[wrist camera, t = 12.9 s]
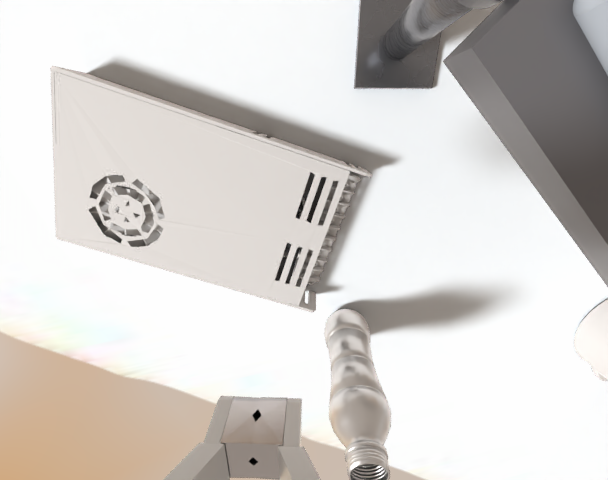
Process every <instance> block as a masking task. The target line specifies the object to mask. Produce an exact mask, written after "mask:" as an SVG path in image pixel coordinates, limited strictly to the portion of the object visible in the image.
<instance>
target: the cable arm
mask: <svg viewBox="0 0 608 480" xmlns="http://www.w3.org/2000/svg"><path fill="white" fill-rule="evenodd" d="M457 1H458V2H459V3H461V4H462V5H464V6H466V7H468V8H472V9H484V8H488V7H491V6H494V5H496V4H498V3H499V2H501V1H503V0H457ZM443 62H444V64H445V65H446V66H447V68H448V69H449V71H450V72H451V73H452V75H453V76H454V77H455V79H456V80H457V81H458V83H459V84H460V86H461V87H462V88H463V90H464V91H465V92H466V94H467V95H468V97H469V98H470V99H471V101H472V102H473V103H474V105H475V106H476V107H477V109H478V110H479V112H480V113H481V114H482V116H483V117H484V118H485V120H486V121H487V122H488V124H489V125H490V127H491V128H492V129H493V131H494V132H495V133H496V135H497V136H498V137H499V139H500V140H501V142H502V143H503V144H504V146H505V147H506V148H507V150H508V151H509V153H510V154H511V155H512V157H513V158H514V159H515V161H516V162H517V163H518V165H519V166H520V168H521V169H522V170H523V172H524V173H525V174H526V176H527V177H528V178H529V180H530V181H531V183H532V184H533V185H534V187H535V188H536V189H537V191H538V192H539V194H540V195H541V196H542V198H543V199H544V200H545V202H546V203H547V204H548V206H549V207H550V209H551V210H552V211H553V213H554V214H555V215H556V217H557V218H558V219H559V221H560V222H561V224H562V225H563V226H564V228H565V229H566V230H567V232H568V233H569V235H570V236H571V237H572V239H573V240H574V241H575V243H576V244H577V245H578V247H579V248H580V250H581V251H582V252H583V254H584V255H585V256H586V258H587V259H588V260H589V262H590V263H591V265H592V266H593V267H594V269H595V270H596V271H597V273H598V274H599V276H600V277H601V278H602V280H603V281H604V282H605V284H606V285H607V286H608V0H504V1H503V2H502V3H501V4H500V5H499V6H498V7H497V8H496V9H495V10H494V11H493V12H492V13H491V14H490V15H489V16H488V17H487V18H486V19H485V20H484V21H483V22H482V23H481V24H480V25H479V26H478V27H477V28H476V29H475V30H474V31H473V32H472V33H471V34H470V35H469V36H468V37H467V38H466V39H465V40H464V41H463V42H462V43H461V44H460V45H459V46H458V47H457V48H456V49H455V50H454V51H453V52H452V53H451V54H450V55H449V56H448V57H447V58H446V59H445V60H444V61H443Z"/></svg>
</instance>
